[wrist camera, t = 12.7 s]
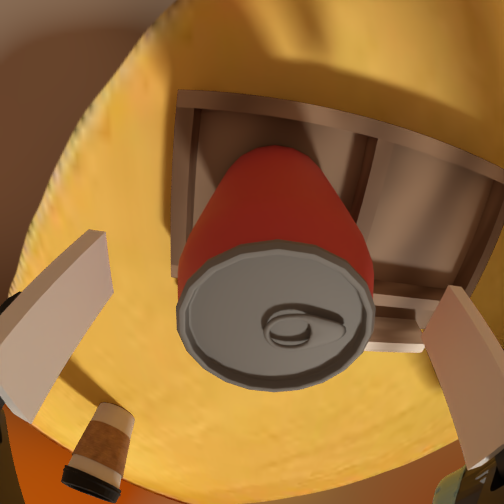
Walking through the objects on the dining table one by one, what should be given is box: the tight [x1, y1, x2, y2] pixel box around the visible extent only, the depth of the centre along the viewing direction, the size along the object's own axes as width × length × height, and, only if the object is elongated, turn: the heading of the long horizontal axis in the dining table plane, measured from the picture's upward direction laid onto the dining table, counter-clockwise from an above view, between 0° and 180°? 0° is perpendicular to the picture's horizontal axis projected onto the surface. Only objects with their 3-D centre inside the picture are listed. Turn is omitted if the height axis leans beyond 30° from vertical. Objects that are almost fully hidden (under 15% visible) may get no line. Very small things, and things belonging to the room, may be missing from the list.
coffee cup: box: [61, 402, 135, 503], centre depth 31 cm, size 8×8×15 cm
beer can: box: [176, 145, 376, 392], centre depth 13 cm, size 7×7×12 cm
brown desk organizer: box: [171, 90, 504, 353], centre depth 18 cm, size 23×16×4 cm
